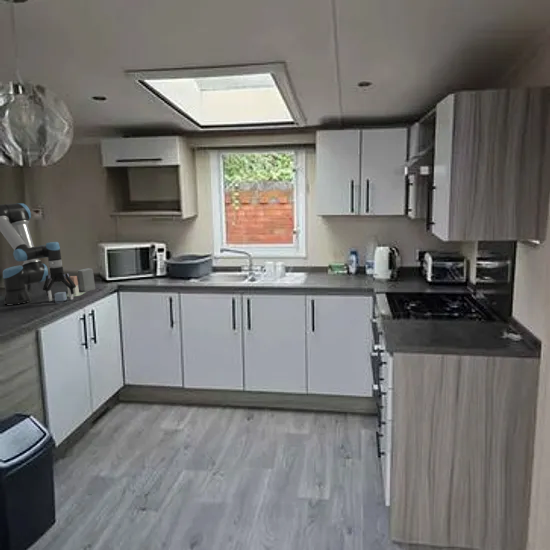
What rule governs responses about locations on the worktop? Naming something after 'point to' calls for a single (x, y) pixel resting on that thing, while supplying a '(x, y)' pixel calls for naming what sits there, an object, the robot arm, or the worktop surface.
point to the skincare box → (86, 279)
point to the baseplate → (76, 295)
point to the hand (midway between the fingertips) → (61, 300)
